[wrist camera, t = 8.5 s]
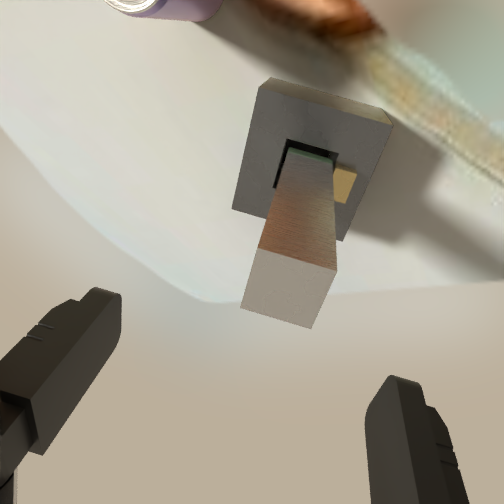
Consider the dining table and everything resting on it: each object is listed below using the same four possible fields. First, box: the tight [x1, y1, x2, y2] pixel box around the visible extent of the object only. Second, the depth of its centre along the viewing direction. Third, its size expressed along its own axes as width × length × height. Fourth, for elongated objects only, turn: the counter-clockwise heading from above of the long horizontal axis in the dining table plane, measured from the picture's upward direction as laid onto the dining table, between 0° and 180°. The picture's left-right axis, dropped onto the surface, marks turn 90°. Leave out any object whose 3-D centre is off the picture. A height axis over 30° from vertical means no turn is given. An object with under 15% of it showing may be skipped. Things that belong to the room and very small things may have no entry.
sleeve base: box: [232, 77, 393, 242], centre depth 37 cm, size 12×12×9 cm
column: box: [240, 147, 337, 329], centre depth 26 cm, size 4×4×18 cm
